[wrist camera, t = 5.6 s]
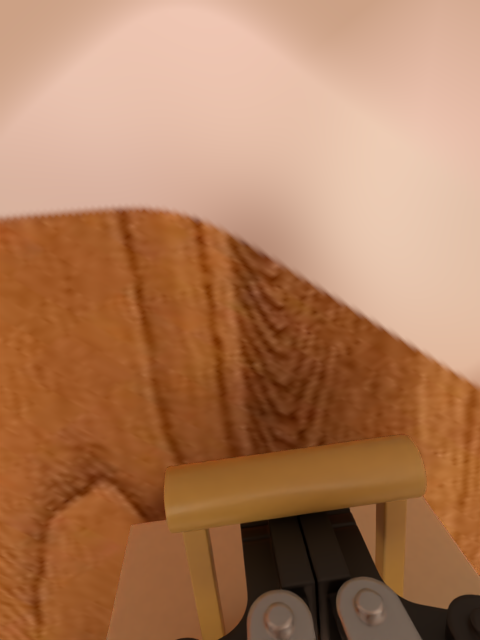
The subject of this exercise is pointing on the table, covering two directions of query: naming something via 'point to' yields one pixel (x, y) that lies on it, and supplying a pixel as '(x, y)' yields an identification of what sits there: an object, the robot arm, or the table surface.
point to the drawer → (276, 502)
